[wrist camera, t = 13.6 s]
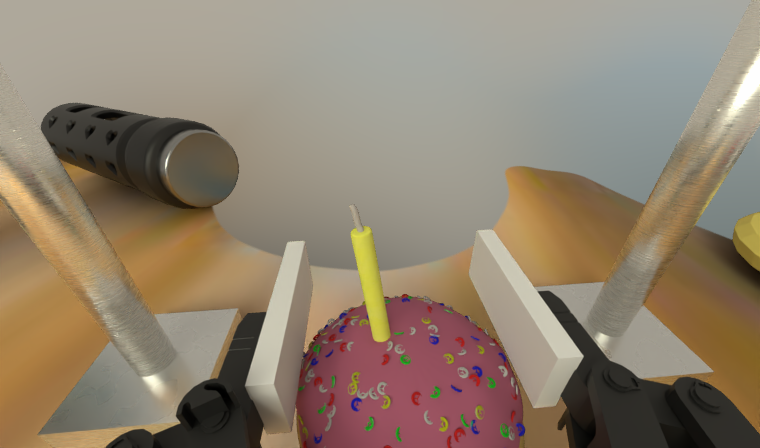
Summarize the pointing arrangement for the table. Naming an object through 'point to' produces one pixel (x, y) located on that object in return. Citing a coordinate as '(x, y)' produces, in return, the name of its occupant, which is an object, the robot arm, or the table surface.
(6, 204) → the post
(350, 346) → the cupcake
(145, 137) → the muzzle brake
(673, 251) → the post
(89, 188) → the table surface
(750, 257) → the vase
